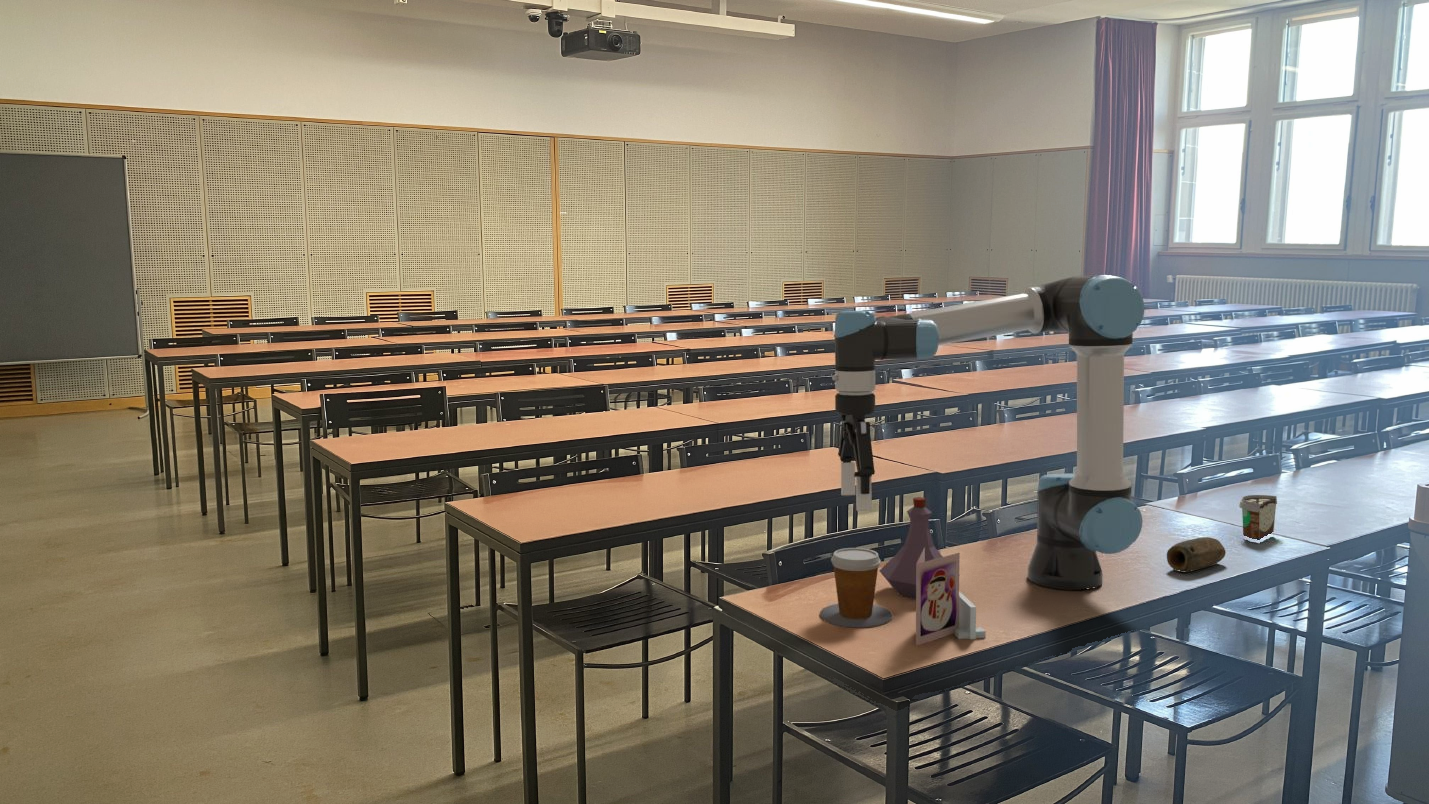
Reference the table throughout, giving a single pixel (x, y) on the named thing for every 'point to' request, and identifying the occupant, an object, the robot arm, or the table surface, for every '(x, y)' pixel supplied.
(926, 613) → the greeting card
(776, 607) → the table surface
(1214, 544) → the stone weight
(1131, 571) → the table surface
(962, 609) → the divider
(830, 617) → the mat
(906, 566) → the flask
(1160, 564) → the table surface
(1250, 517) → the food container
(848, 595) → the disposable coffee cup
